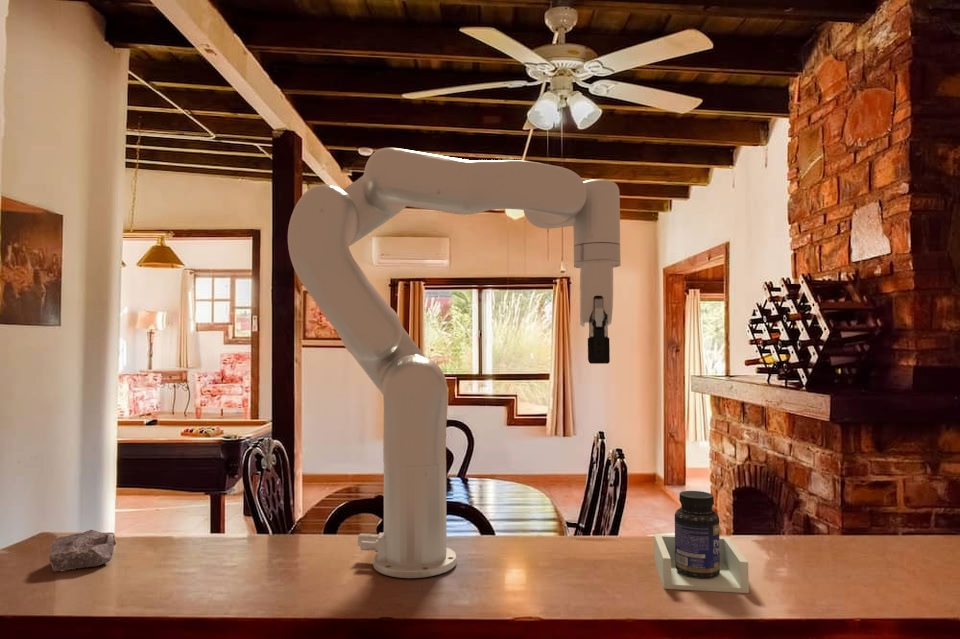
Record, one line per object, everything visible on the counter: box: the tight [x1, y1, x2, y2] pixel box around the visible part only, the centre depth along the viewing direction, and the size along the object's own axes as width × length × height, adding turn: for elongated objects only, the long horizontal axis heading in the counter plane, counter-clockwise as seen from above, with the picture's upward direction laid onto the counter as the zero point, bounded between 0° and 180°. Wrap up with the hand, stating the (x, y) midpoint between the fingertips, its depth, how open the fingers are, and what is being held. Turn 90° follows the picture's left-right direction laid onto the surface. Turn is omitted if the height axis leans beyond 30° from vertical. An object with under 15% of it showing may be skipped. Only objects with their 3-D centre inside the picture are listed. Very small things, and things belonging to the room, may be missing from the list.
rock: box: [48, 529, 117, 572], centre depth 100 cm, size 8×11×5 cm
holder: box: [653, 533, 750, 594], centre depth 91 cm, size 11×11×4 cm
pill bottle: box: [674, 490, 721, 578], centre depth 91 cm, size 6×6×11 cm
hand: (598, 362), depth 103 cm, fingers open, 9 cm apart
